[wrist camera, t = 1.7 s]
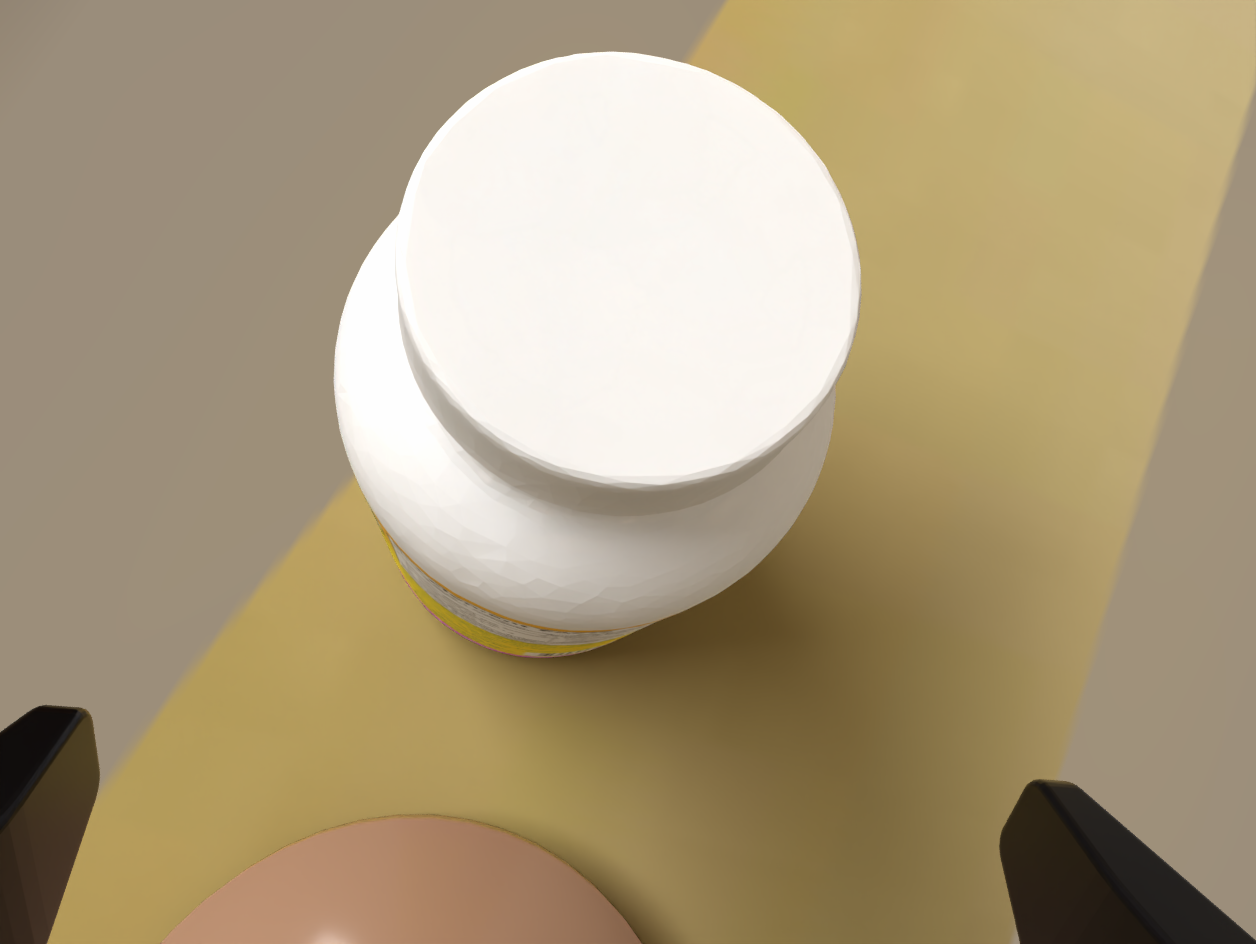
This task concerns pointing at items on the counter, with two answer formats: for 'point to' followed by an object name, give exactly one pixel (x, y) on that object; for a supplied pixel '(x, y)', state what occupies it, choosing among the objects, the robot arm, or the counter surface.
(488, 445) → the supplement bottle
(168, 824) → the counter surface
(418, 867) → the terracotta round disc
